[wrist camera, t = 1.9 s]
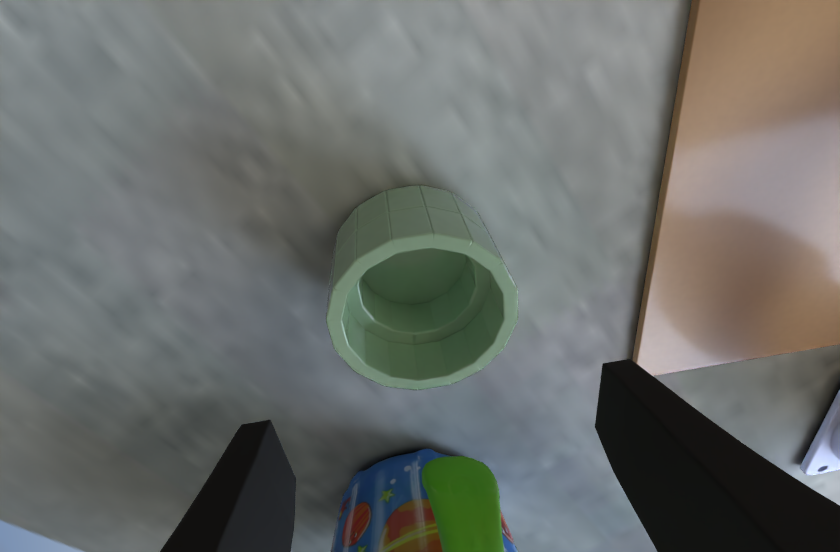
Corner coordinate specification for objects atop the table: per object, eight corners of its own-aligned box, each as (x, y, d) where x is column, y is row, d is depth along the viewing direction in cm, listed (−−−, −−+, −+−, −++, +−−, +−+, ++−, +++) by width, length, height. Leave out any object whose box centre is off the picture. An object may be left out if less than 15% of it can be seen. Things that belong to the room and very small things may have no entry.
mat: (1191, -325, 11) (1218, -335, 11) (861, 334, 22) (869, 339, 21) (734, -265, 11) (747, -273, 10) (629, 373, 21) (633, 379, 21)
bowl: (483, 168, 15) (517, 219, 12) (490, 302, 18) (519, 374, 15) (317, 193, 15) (305, 252, 12) (351, 325, 18) (349, 402, 15)
